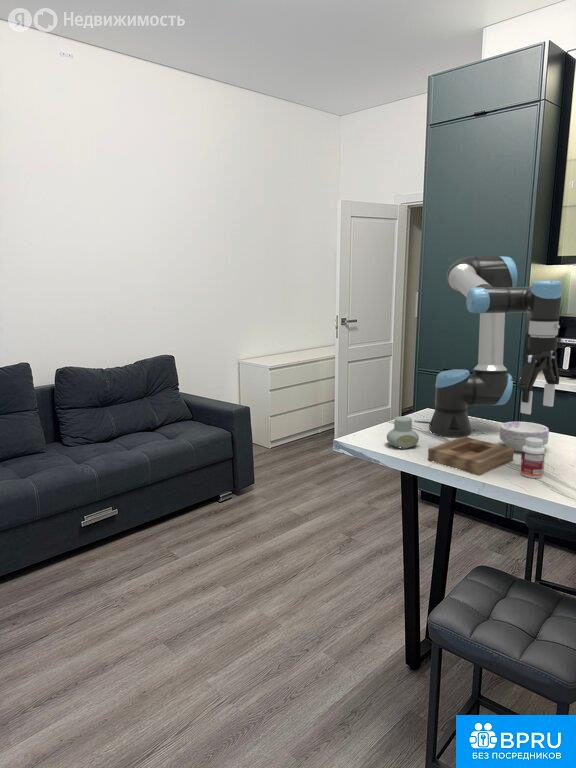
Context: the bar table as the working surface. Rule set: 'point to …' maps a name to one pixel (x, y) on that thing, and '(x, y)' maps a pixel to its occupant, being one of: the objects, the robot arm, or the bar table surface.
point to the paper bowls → (522, 433)
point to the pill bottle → (532, 458)
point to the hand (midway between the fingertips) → (537, 409)
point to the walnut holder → (471, 455)
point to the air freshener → (402, 433)
